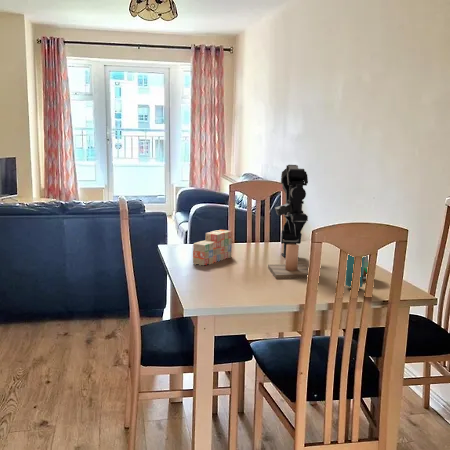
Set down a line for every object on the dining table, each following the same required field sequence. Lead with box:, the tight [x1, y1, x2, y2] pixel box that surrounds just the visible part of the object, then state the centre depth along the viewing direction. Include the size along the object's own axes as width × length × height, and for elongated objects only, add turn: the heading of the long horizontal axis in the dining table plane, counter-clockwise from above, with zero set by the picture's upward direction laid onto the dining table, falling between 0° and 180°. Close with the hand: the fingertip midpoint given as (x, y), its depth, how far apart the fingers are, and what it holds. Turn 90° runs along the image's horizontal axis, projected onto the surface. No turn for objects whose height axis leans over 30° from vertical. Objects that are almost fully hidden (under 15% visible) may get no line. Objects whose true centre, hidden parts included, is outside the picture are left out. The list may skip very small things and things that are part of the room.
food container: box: [363, 256, 368, 282], centre depth 207 cm, size 12×6×10 cm, turn 168°
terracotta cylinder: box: [284, 244, 300, 271], centre depth 213 cm, size 5×5×10 cm
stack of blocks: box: [192, 229, 233, 266], centre depth 231 cm, size 21×6×12 cm, turn 147°
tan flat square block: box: [267, 263, 309, 280], centre depth 214 cm, size 16×16×2 cm
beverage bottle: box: [345, 255, 365, 288], centre depth 191 cm, size 6×7×20 cm
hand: (294, 234), depth 225 cm, fingers open, 9 cm apart
